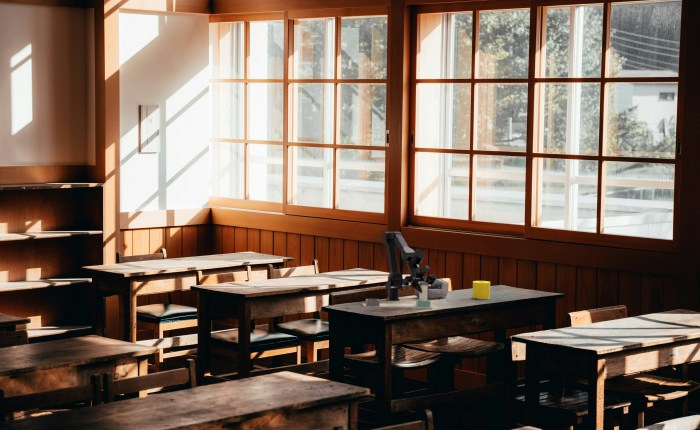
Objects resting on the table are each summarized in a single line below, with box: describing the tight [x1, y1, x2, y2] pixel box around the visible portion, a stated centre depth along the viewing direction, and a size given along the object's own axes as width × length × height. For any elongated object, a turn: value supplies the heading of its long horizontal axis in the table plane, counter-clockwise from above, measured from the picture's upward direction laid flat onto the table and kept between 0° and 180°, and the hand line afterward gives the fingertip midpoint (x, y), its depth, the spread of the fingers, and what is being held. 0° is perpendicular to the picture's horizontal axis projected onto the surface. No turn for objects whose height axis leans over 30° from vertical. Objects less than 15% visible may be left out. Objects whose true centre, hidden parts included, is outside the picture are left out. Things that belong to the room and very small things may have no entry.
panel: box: [362, 298, 433, 310], centre depth 576 cm, size 12×37×4 cm, turn 94°
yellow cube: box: [472, 280, 491, 300], centre depth 620 cm, size 10×10×9 cm
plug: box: [418, 282, 429, 301], centre depth 575 cm, size 3×3×12 cm
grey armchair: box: [413, 278, 449, 300], centre depth 616 cm, size 13×11×20 cm
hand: (424, 292), depth 573 cm, fingers open, 4 cm apart
